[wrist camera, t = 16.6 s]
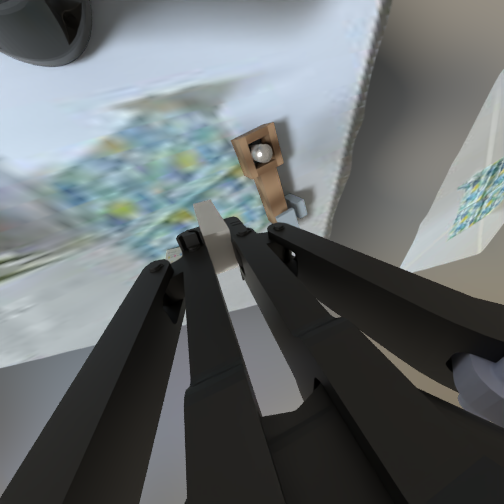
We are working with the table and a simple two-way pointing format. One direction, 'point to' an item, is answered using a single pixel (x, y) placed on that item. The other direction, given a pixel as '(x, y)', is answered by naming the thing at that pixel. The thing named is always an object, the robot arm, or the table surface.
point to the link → (263, 168)
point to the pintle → (260, 152)
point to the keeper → (292, 210)
